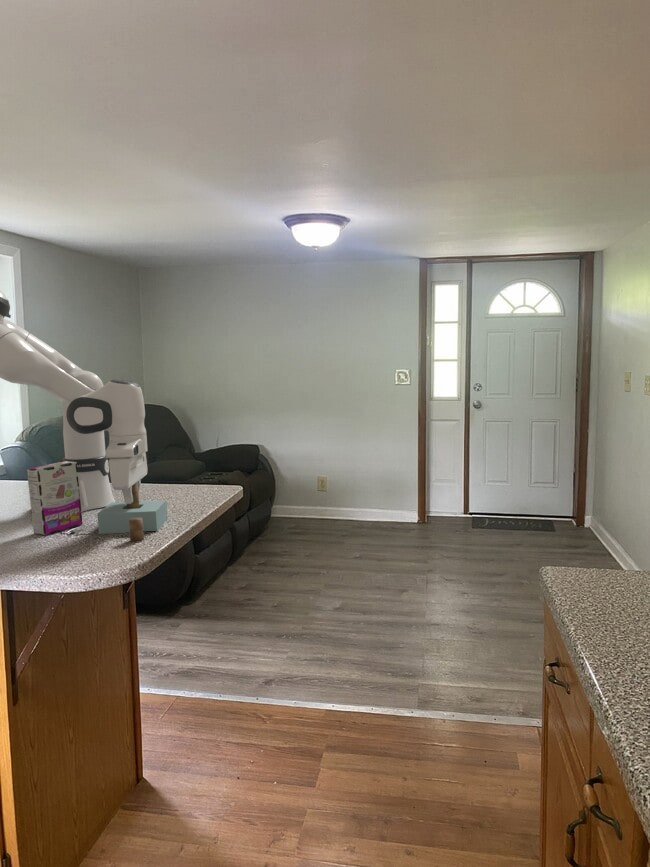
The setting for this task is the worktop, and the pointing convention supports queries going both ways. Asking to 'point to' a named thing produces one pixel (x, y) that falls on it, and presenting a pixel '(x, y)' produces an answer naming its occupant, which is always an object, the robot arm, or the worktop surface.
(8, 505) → the worktop surface
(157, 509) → the hole block
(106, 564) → the worktop surface
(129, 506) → the long dowel
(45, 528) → the candy bar box
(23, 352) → the robot arm
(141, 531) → the short dowel
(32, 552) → the worktop surface
